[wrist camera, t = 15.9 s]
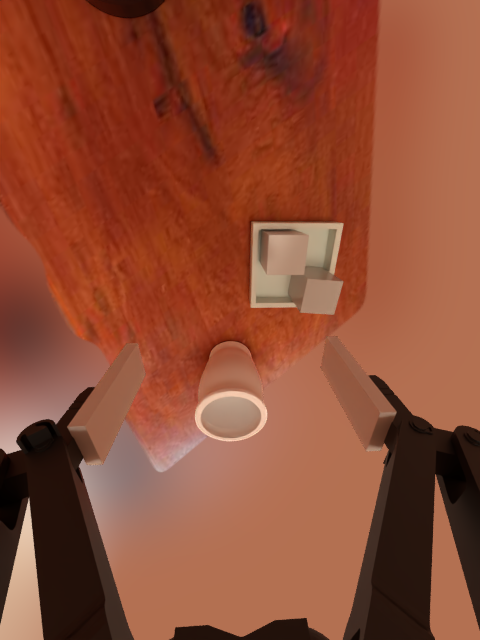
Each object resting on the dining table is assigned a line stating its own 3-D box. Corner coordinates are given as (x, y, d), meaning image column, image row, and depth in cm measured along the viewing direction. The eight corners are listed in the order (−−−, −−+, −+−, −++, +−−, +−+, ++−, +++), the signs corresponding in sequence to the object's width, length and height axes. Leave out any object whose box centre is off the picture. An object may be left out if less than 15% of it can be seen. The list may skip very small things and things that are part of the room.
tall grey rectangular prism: (261, 229, 36) (268, 235, 29) (293, 229, 36) (309, 235, 29) (259, 261, 38) (266, 275, 31) (289, 261, 38) (304, 274, 31)
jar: (257, 334, 45) (269, 390, 32) (256, 376, 50) (266, 440, 36) (202, 336, 45) (190, 393, 31) (206, 378, 49) (197, 443, 36)
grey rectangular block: (293, 264, 39) (307, 278, 31) (322, 267, 39) (343, 281, 32) (287, 293, 41) (300, 312, 34) (315, 295, 41) (333, 314, 34)
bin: (251, 221, 36) (253, 222, 33) (333, 221, 37) (343, 223, 34) (249, 299, 42) (250, 307, 39) (320, 299, 42) (327, 306, 39)
